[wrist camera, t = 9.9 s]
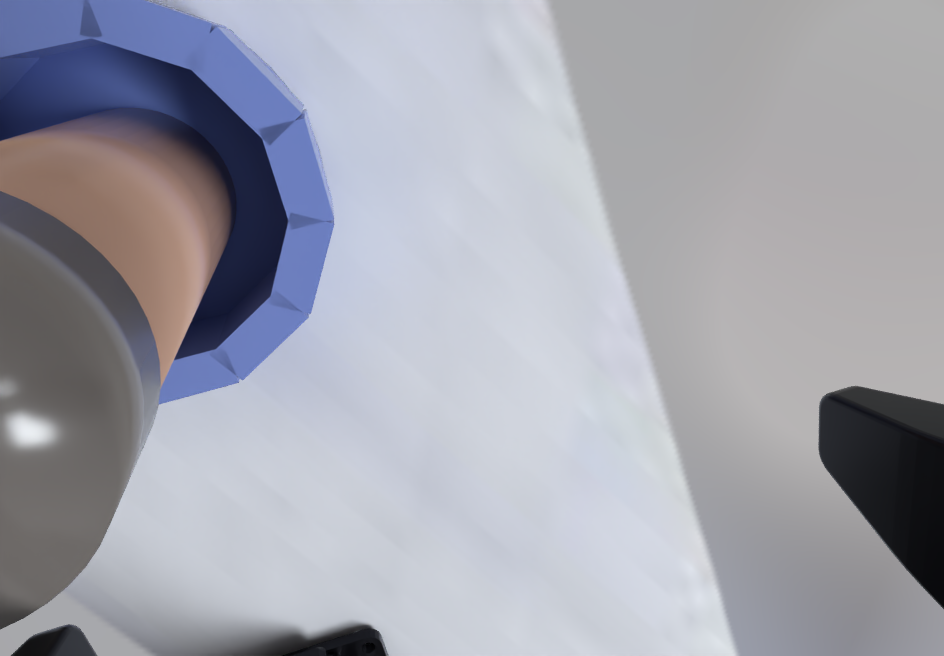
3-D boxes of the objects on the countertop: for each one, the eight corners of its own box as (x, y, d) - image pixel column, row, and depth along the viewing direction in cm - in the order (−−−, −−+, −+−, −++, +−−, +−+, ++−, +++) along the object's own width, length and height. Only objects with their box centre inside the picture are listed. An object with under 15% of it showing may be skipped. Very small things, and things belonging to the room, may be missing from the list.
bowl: (362, 299, 20) (371, 346, 17) (53, 381, 19) (1, 447, 16) (265, -35, 17) (254, -55, 13) (-124, 45, 16) (-237, 44, 12)
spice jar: (264, 261, 18) (189, 574, 7) (90, 306, 18) (-269, 713, 7) (203, 83, 16) (-21, 152, 5) (5, 127, 16) (-674, 299, 5)
